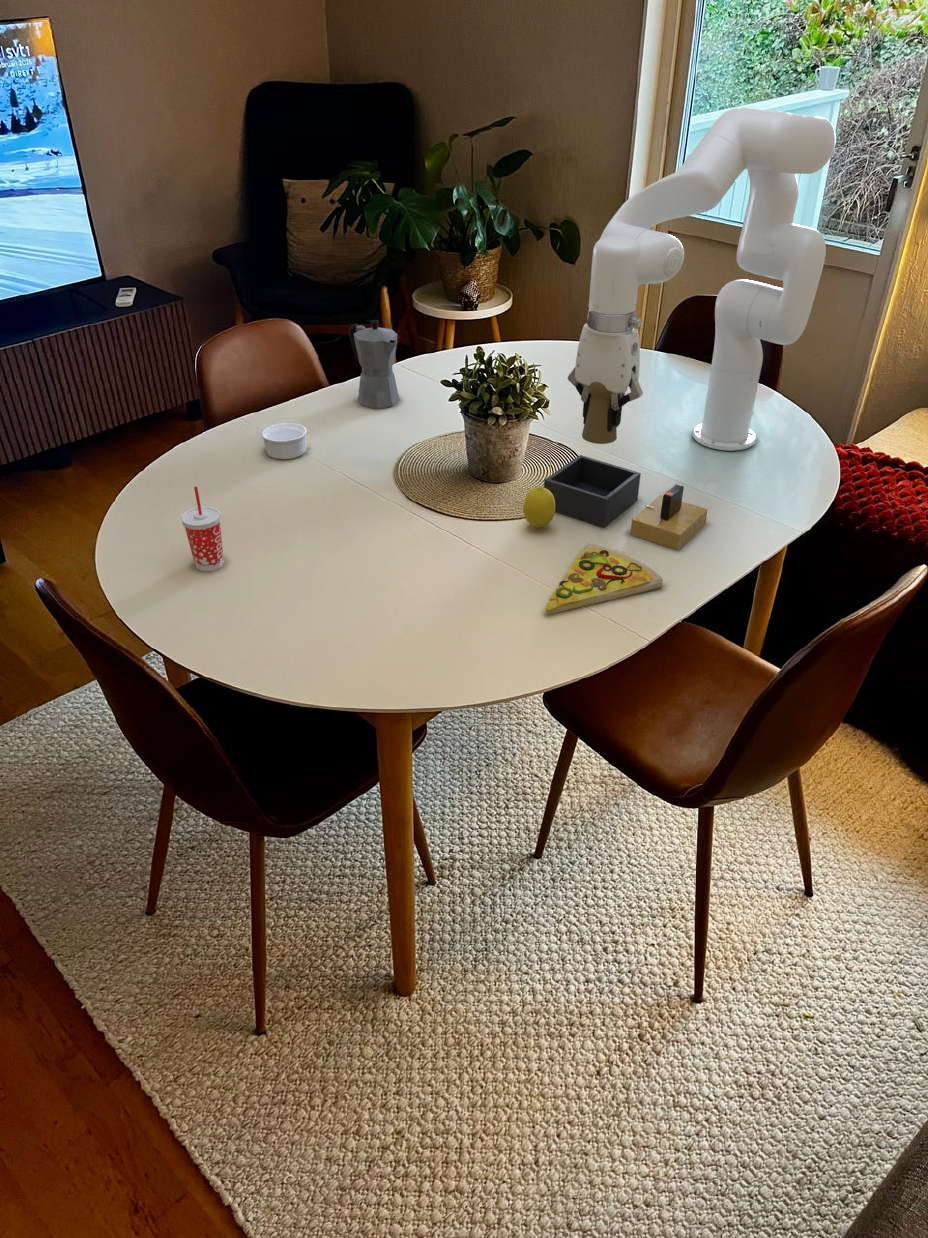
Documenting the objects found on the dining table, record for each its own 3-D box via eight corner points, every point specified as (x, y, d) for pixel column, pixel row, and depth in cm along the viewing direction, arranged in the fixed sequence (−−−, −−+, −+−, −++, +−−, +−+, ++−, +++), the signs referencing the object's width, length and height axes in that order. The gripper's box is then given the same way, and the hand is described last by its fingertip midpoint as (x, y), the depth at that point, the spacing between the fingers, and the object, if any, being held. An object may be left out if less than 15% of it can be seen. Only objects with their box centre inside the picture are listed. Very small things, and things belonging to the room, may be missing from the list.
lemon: (557, 523, 167) (560, 482, 163) (549, 538, 163) (552, 496, 158) (527, 517, 169) (529, 477, 164) (518, 532, 165) (520, 491, 160)
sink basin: (578, 481, 180) (580, 454, 177) (637, 500, 174) (641, 472, 171) (542, 507, 172) (544, 479, 169) (603, 528, 166) (606, 499, 163)
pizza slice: (668, 584, 151) (671, 568, 150) (584, 637, 140) (586, 620, 138) (593, 547, 161) (594, 532, 159) (508, 594, 149) (508, 578, 147)
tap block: (658, 509, 172) (660, 493, 170) (705, 524, 167) (708, 508, 165) (629, 534, 164) (631, 518, 162) (678, 550, 160) (680, 534, 158)
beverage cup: (209, 577, 152) (195, 500, 144) (182, 566, 155) (166, 490, 147) (236, 560, 157) (224, 484, 149) (209, 550, 159) (195, 474, 151)
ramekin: (255, 456, 189) (252, 436, 186) (278, 439, 195) (276, 419, 193) (294, 464, 186) (292, 443, 183) (316, 446, 193) (315, 426, 190)
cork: (615, 445, 163) (621, 383, 156) (580, 442, 164) (585, 380, 157) (618, 431, 168) (624, 370, 161) (583, 428, 169) (588, 367, 162)
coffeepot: (414, 403, 211) (412, 322, 200) (381, 415, 205) (377, 332, 195) (369, 384, 220) (365, 306, 209) (337, 395, 214) (331, 315, 204)
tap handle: (672, 506, 166) (676, 482, 163) (680, 509, 165) (684, 484, 163) (659, 518, 163) (663, 493, 160) (667, 520, 162) (671, 496, 159)
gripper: (668, 323, 152) (654, 430, 163) (577, 304, 160) (570, 407, 171) (646, 336, 147) (633, 445, 158) (554, 315, 155) (548, 420, 166)
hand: (600, 424), depth 164 cm, fingers closed on cork, 3 cm apart
